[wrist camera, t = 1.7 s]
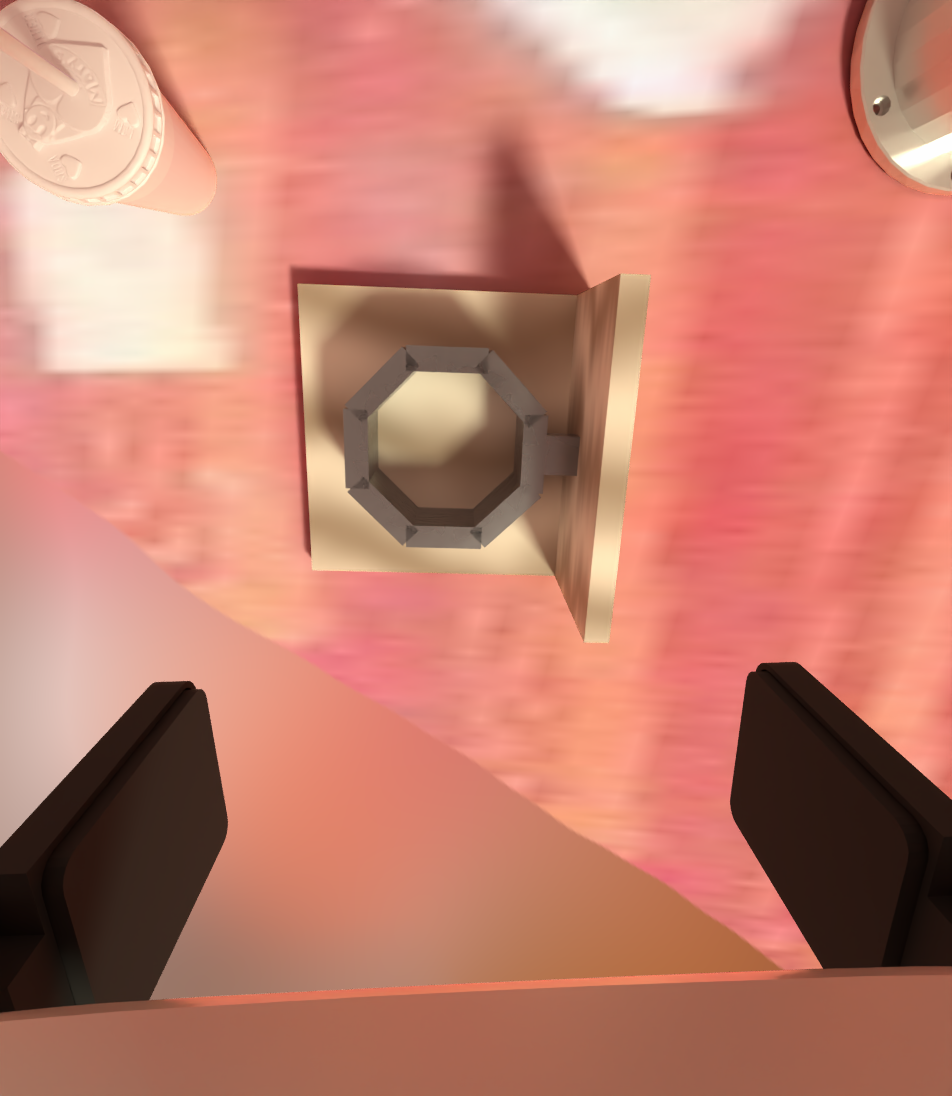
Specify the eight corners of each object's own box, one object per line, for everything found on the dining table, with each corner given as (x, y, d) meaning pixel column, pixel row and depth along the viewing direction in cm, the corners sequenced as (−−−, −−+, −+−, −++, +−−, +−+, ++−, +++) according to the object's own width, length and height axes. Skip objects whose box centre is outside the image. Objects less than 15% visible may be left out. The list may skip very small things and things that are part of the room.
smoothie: (269, 184, 31) (129, 57, 18) (186, 271, 32) (-4, 213, 19) (173, 70, 30) (-60, -161, 16) (89, 167, 31) (-193, 24, 17)
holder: (302, 285, 33) (237, 257, 23) (594, 297, 33) (650, 275, 24) (316, 563, 38) (267, 636, 28) (570, 569, 38) (609, 642, 29)
